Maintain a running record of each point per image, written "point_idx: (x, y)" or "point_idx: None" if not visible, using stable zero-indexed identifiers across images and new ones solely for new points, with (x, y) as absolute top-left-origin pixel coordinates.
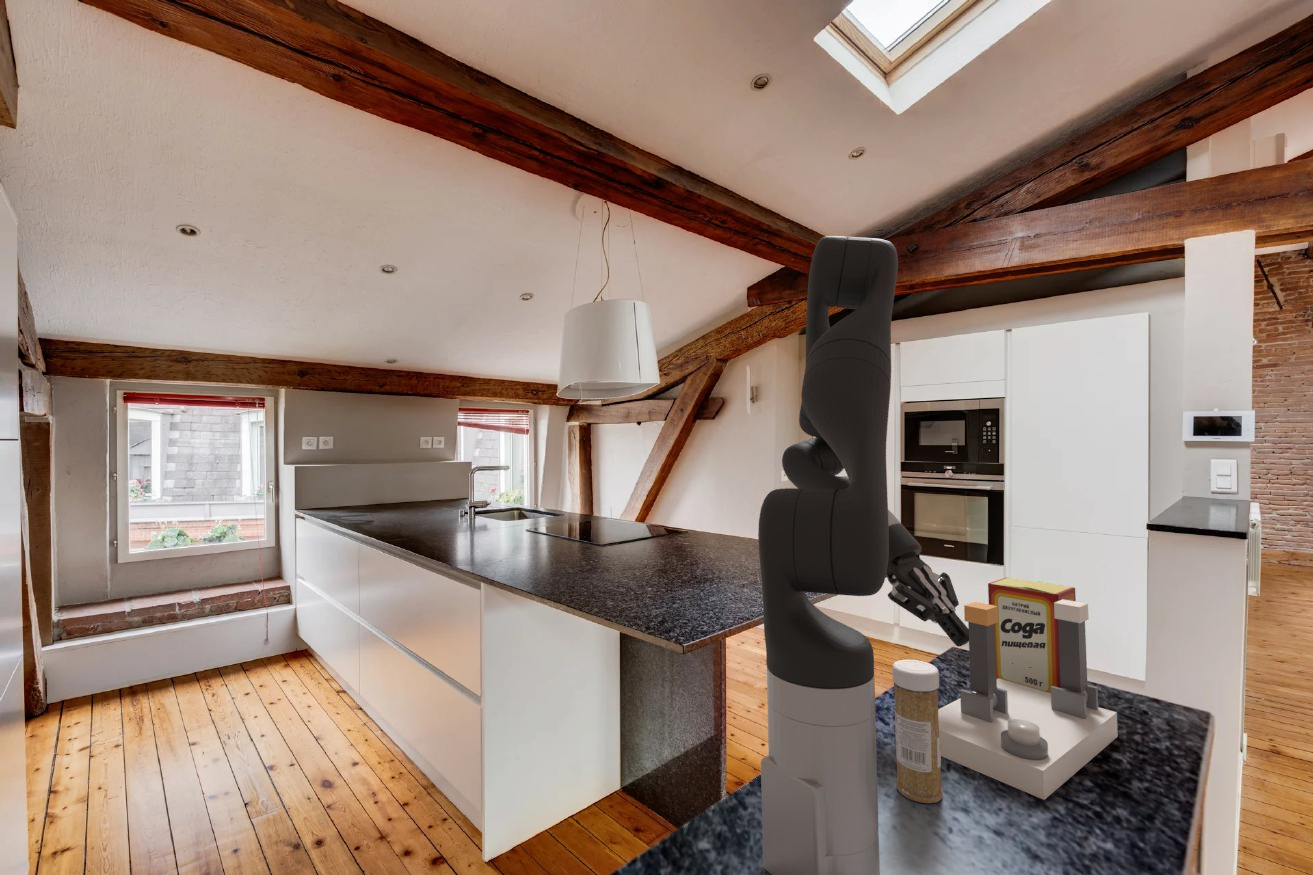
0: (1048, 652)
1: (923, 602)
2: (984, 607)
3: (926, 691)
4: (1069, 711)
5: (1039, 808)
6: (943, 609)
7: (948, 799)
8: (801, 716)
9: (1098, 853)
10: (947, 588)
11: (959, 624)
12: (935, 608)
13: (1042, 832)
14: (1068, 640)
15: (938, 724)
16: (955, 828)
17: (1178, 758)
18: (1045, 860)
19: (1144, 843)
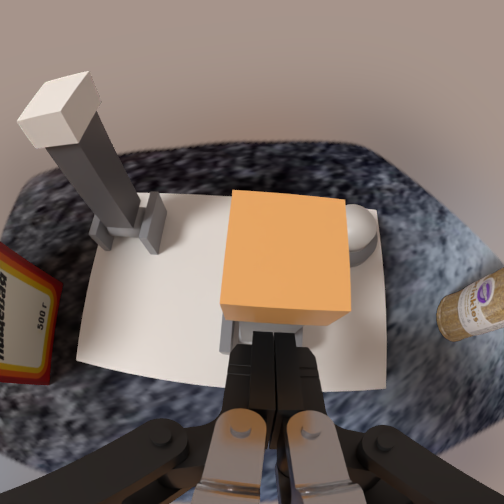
0: (12, 273)
1: (441, 463)
2: (310, 221)
3: None
4: (161, 228)
5: (382, 226)
6: (325, 430)
7: (440, 293)
8: None
9: (399, 180)
10: (106, 498)
11: (286, 367)
12: (391, 433)
13: (413, 215)
14: (103, 156)
15: (498, 270)
16: (465, 267)
17: (147, 161)
18: (439, 205)
19: (355, 158)
